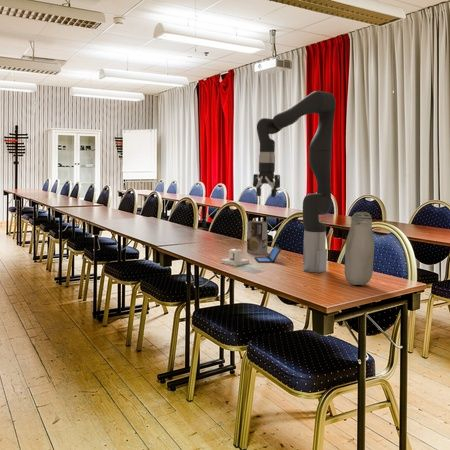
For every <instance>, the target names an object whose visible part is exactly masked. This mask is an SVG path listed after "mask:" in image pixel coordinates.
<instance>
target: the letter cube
mask: <svg viewBox="0 0 450 450" xmlns="http://www.w3.org/2000/svg"><path fill="white" fill-rule="evenodd" d="M228 250H229V251H228V258H229V261H232V262H239V261H242V259H243V258H242V257H243V255H242V254H243V253H242V252H243V251H242V250H243V249H237V248H233V249H228Z"/></svg>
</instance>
